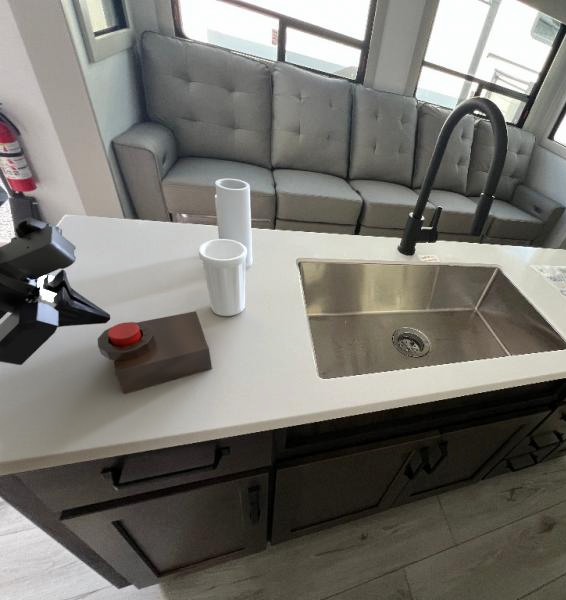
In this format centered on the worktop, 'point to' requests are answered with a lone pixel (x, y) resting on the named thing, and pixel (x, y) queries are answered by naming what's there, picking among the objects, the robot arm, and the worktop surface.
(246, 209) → the vase
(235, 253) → the cup
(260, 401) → the worktop surface
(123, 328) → the led button
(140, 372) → the switch block
